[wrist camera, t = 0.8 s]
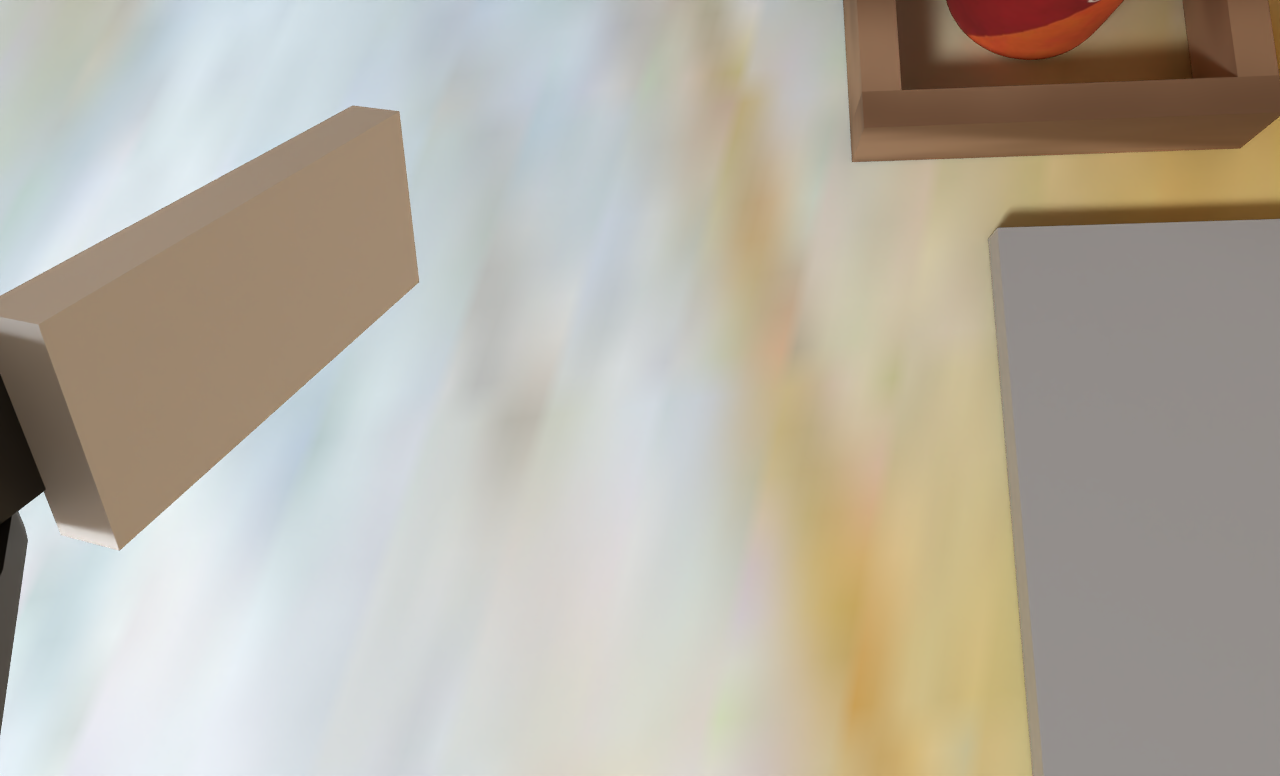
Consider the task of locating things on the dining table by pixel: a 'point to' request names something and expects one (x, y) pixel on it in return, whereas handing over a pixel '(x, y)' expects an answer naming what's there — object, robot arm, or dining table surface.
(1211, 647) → the slate tile
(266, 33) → the dining table surface
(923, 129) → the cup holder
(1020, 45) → the paper cup
